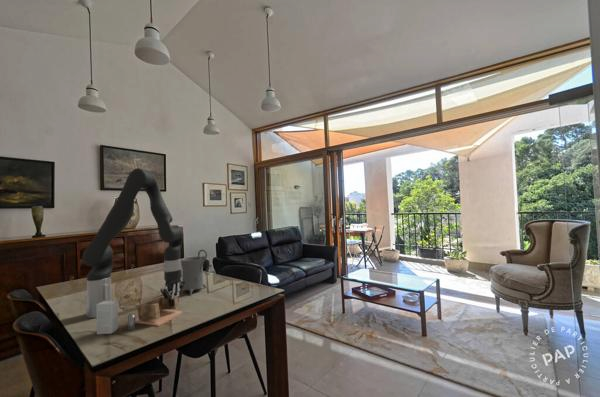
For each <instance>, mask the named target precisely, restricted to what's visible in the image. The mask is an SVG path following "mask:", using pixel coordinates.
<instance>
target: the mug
mask: <svg viewBox="0 0 600 397" xmlns="http://www.w3.org/2000/svg"><path fill="white" fill-rule="evenodd" d="M201 252H204V254H205V255H203V256H201V255H200V253H201ZM207 258H208V252H207V251H206V249H200V250H199V251H198V253H197V256H196V255H195V256H188V257H183V258H181V268H182V277H181V281H185V284H184V288H183V291H189V295H190V296H191V295H193V292H194V290H198V289H201V288H207V286H206V283H204V272H203V271H204V270H203V268H204V266H203V265H204V263H205V261H206V260H207Z"/></svg>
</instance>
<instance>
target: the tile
mask: <svg viewBox="0 0 600 397" xmlns="http://www.w3.org/2000/svg"><path fill="white" fill-rule="evenodd" d="M183 312H184V311H183V310H177V309H169V310H161V311H160V318H158V319H143V320H139V316H138V317H135V324H142V325H148V326H157V327H159V326H162V325H163V324H165V323H167V322H169V321H170V320H172V318H173V319H175V318H177V316H180V315H182V314H183Z"/></svg>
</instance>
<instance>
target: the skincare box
mask: <svg viewBox="0 0 600 397" xmlns="http://www.w3.org/2000/svg"><path fill="white" fill-rule="evenodd" d="M118 308H119V306H118V300H111V301H103V302H101V303H99V304H97V305H96V312H97V317H96V335H105V334H106V335H109V334H113V333H115V331H117V330H118V329H119V320H118V319H119V317H118V316H119V313H118V311H119V310H118Z"/></svg>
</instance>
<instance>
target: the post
mask: <svg viewBox="0 0 600 397" xmlns="http://www.w3.org/2000/svg"><path fill="white" fill-rule="evenodd" d="M135 316H136V315H135V313H130V314H128V315H127V329H128V330H127V331H133V330H135V329H136V323H135V319H136V317H135Z"/></svg>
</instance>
